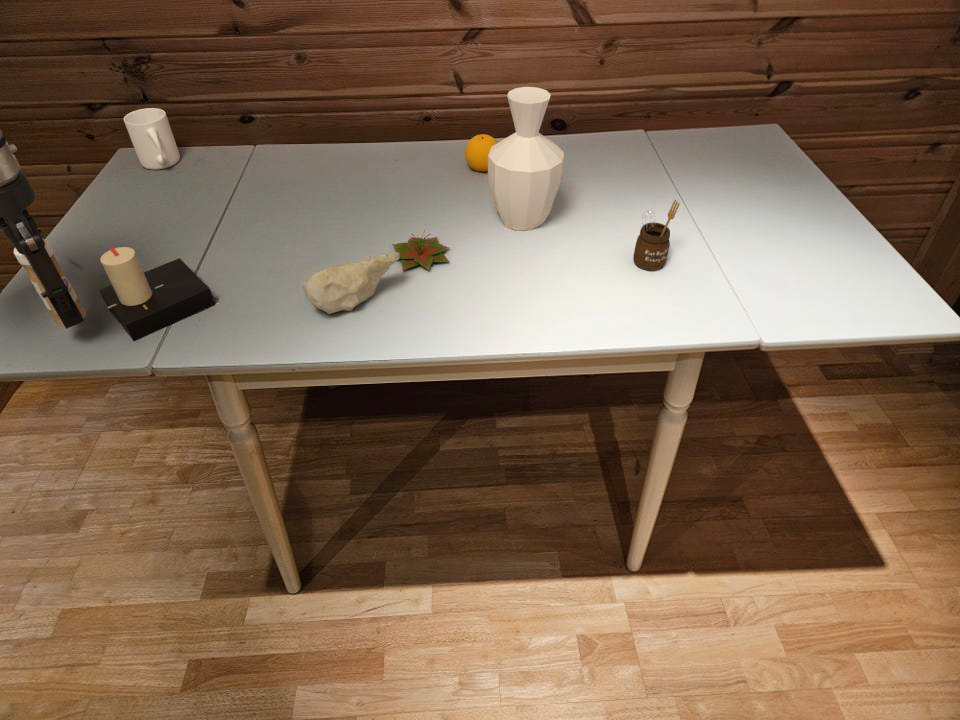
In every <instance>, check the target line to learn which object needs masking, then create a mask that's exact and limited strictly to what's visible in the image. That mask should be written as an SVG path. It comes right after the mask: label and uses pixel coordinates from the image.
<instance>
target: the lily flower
mask: <svg viewBox="0 0 960 720" xmlns="http://www.w3.org/2000/svg"><path fill="white" fill-rule="evenodd" d="M425 232H426V230H423V233H425ZM411 235H412V236H410V237H408V240H407V242H399V243H396V244H395V243H392V244H391V245H392V246H393V248H394V249H395V250H396V252H399V254H400V255H399V259H402V260H401V271H404V270H407V269H410V268H412V267H416V266H419V265H420V266H422V267H423V268H425V269H426V270H427V271H428V272H429V271H430V268H431V265H432V264H433V263H450V260H449V259H448V258H447V256H446V255H445V254H444V253H442V252H444V251H447V250H450V247H448V246H446V245H443V244H441V243H439V239H438V236H434V237H429V236H430V235H432V233H428V234H427V235H426V236H423V235H424V234H422V236H421V237H416V236H415V235H414V234H413V232H412V233H411Z"/></svg>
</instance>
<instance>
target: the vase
mask: <svg viewBox="0 0 960 720" xmlns="http://www.w3.org/2000/svg"><path fill="white" fill-rule="evenodd" d="M551 95H552V94H551V93H550V92H549V91H548V90H547V89H543V88H541V87H535V86H522V87H516V88H513V89H511V90H509V91H508V93H507V95H506V96H507V101H508V105H509V110H510V113H511V117H512V121H513V125H514V130H515V132H514V133H512V134H510V135H509V136H507V137H505V138H504V139H502V140H500V141H499V142H498V143H497V144H495V145H494V146H492V147H491V150H490V152H489V155H488V171H487V177H488V179H487V180H488V181H487V182H488V186H489V190H490V194H491V197H492V200H493V204H494V206H495V209H496V210H497V212H498V214H499V216H500V218H501V221H502V223H503V224H504V226H505V227H506V228H508V229H511V230H513V231H522V232H523V231H524V232H525V231H529V230H534V229H536V228H538V227H541V226H542V225H544V223H545V221H546V220H547V218H548V217H549V215H550V213H551V211H552V209H553V205H554V201H555V199H556V196H557V193H558V191H559V189H560V185H561V181H562V177H563V170H564V160H565V151H563V150H562V148H560V147H559V146H558V145H557V144H556V143H555V142H553V141H552V140H551V139H549V138H548V137H546V136H545V135H543V134H542V133H540V129H541V126H542V123H543V121H544V116H545V114H546V111H547V108H548V105H549V103H550V99H551Z"/></svg>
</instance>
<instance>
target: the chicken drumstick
mask: <svg viewBox="0 0 960 720" xmlns="http://www.w3.org/2000/svg"><path fill="white" fill-rule="evenodd" d="M399 255H400V254H399V252H397V251H393V252H390V253H388V254H386V253H384V254H380V255H377V256H374V257H373V255H371V256H368V257H366V259H363V260H361V261H357V262H353V263H347V264H339V265H336V266H331V267H328V268H324V269H321V270H319V271H317V272H314V273H312V274H311V276H309V278H308V280H306V281H305V282H303V283H302V285H301V287H302V290H303V293H305V297H306V299H307V300H308V302H309V303H310V305H311V306H313V307H316V308H318V309H319V310H321V311H323V312H326V313H327V314H328V315H330V314H333V313H338V312H340V311H346V312H352V311H353V309H354V308H355V307H356V306H358V305H360V304H362V303H363V302H365V301H367V300H368V299H369V298H370V297H372V296H373V295H374V293H375V292H376V290H377V286H378V284H380V281H381V278H382V277H383V276H384V275H385V274H386V273H387V272H388V271H389V270H390V268H391V267H392V265H394V264H395V263H396V262H398V260H400V258H399Z"/></svg>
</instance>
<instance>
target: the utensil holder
mask: <svg viewBox="0 0 960 720" xmlns="http://www.w3.org/2000/svg"><path fill="white" fill-rule="evenodd" d="M680 204H681V203H680V202H679V201H678V200H677V199H674V200H673V202H672V204H671V207H670V209H669V210H668V213H667V220H666V223H665V224H664V223H660V222H656V221H657V220H654V221H653V222H652V218H653V216H652V210H646V211H645V212H643V213H642V215H641V216H642V218H644V217H645V218H644V221H645V224H644V222H642V223H641V224H642V226H641V228H640V231H639V234H638V236H637V237H636V242H635V246H634V252H633V263H634V264H635V266H637V268H639V269H642V270H644V271H649V272H654V271H659V270H661V269H663V268H664V267H665V265H666V263H667V261H668V260H667V259H668V255H669V251H670V245H671V241H670V238H671V230H670V228H669V227H668V226H669V224H670V221H671V220H674V219H675V216H676V214H677V212H678V209H679V207H680V206H681V205H680ZM646 214H647V216H646ZM649 214H650V218H649V217H648V216H649ZM653 215H654V216H656V215H655V212H653ZM647 218H649V219H650V220H649V222H647Z"/></svg>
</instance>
